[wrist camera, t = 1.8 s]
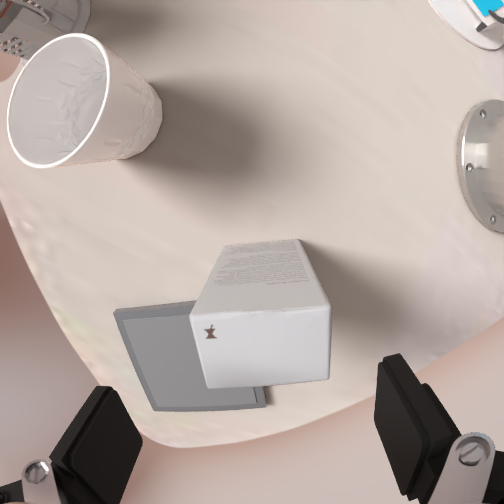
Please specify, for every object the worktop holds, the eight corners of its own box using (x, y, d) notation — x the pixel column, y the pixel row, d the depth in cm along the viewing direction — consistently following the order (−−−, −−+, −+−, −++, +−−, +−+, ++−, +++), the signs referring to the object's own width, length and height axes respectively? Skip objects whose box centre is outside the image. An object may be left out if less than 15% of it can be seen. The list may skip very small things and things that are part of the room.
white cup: (124, 185, 23) (47, 199, 13) (72, 126, 22) (-8, 117, 12) (190, 113, 21) (140, 78, 12) (130, 57, 20) (66, 13, 11)
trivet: (244, 294, 25) (243, 298, 24) (266, 401, 28) (266, 407, 27) (116, 309, 26) (112, 313, 25) (156, 406, 29) (153, 411, 28)
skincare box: (230, 295, 25) (202, 391, 13) (223, 244, 24) (184, 313, 12) (304, 288, 25) (331, 383, 13) (301, 237, 24) (332, 301, 12)
